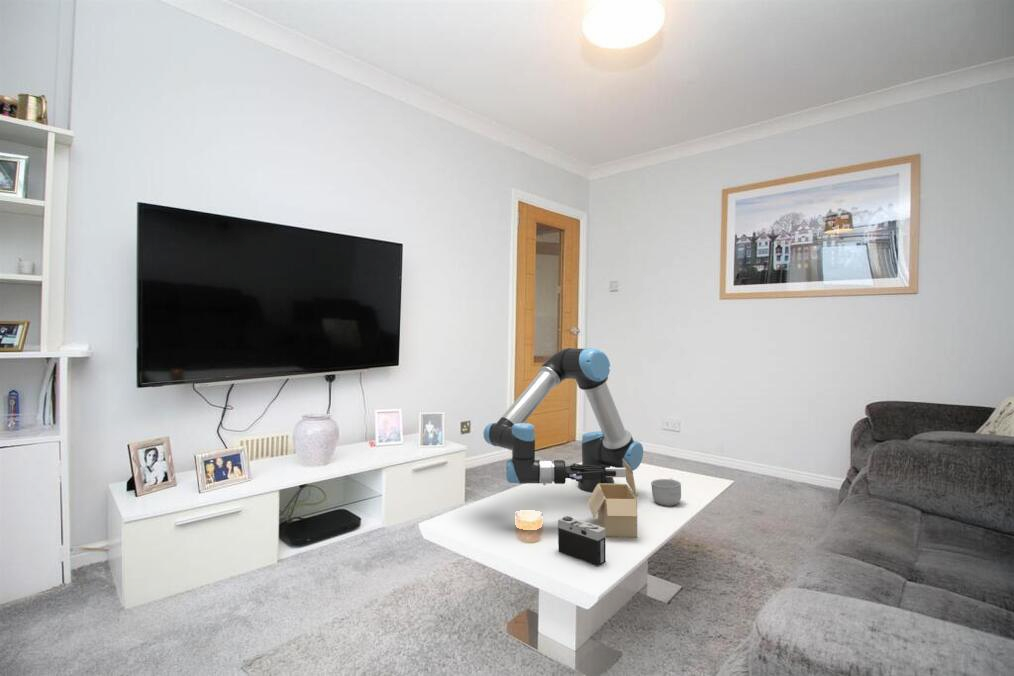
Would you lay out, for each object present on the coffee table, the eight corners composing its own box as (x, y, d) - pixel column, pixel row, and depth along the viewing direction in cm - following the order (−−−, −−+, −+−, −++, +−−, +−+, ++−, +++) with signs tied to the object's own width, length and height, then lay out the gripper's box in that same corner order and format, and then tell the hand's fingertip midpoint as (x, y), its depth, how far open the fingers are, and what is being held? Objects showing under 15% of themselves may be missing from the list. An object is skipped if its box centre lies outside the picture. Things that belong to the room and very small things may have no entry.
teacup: (673, 510, 176) (673, 488, 176) (646, 503, 184) (646, 482, 184) (689, 500, 187) (689, 479, 187) (662, 494, 194) (662, 474, 194)
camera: (613, 557, 138) (613, 522, 139) (597, 567, 133) (597, 531, 133) (573, 543, 148) (573, 510, 148) (557, 552, 142) (556, 518, 142)
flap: (636, 496, 152) (631, 471, 152) (626, 481, 168) (622, 458, 168) (637, 496, 152) (632, 470, 152) (627, 481, 168) (623, 458, 168)
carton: (594, 540, 150) (594, 501, 150) (586, 515, 171) (586, 481, 171) (639, 541, 149) (638, 502, 149) (625, 516, 170) (625, 481, 171)
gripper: (552, 477, 166) (622, 478, 165) (554, 489, 153) (629, 490, 152) (552, 455, 166) (621, 456, 165) (553, 465, 153) (629, 466, 152)
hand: (625, 472), depth 159 cm, fingers closed
